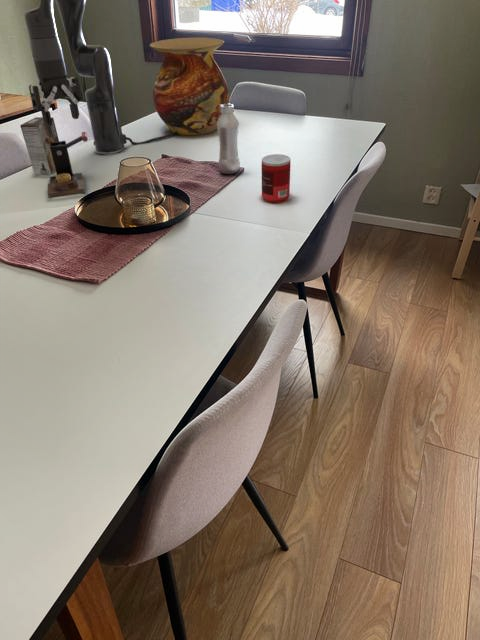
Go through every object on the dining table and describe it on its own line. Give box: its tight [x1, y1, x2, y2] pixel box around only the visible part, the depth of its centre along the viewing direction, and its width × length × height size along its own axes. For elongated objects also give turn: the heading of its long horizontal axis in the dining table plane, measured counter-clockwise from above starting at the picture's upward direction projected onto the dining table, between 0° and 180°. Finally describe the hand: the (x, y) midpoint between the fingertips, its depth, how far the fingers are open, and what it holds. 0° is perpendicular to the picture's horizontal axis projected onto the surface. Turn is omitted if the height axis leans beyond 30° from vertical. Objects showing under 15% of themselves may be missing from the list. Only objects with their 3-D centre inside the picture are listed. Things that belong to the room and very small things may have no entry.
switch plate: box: [47, 176, 86, 199], centre depth 145 cm, size 10×8×4 cm
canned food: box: [261, 153, 292, 204], centre depth 136 cm, size 8×8×11 cm
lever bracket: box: [49, 140, 84, 184], centre depth 150 cm, size 10×8×12 cm
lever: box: [57, 131, 89, 150], centre depth 148 cm, size 11×5×2 cm, turn 106°
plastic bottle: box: [216, 103, 241, 175], centre depth 150 cm, size 6×7×20 cm
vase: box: [149, 37, 230, 136], centre depth 188 cm, size 29×29×30 cm
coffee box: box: [20, 116, 60, 176], centre depth 157 cm, size 9×6×16 cm
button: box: [55, 173, 71, 183], centre depth 144 cm, size 4×4×2 cm
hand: (62, 121), depth 139 cm, fingers open, 8 cm apart
